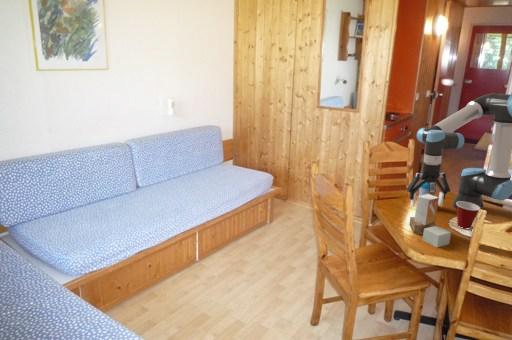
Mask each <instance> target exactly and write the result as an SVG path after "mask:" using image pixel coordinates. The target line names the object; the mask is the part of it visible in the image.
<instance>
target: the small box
mask: <svg viewBox="0 0 512 340" xmlns="http://www.w3.org/2000/svg"><path fill="white" fill-rule="evenodd" d="M438 201H439V196H436V195H434V196H433V195H430V194H425V195H421V196H419V195H418V196H417V200H416V206H415V214H414V217H415V220H414V221H415V222H418V223H420V224H423V225H428V224H431V223H435V222H436V218H437V213H438V208H439V207H438V206H439V205H438Z"/></svg>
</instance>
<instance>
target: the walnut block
mask: <svg viewBox="0 0 512 340" xmlns="http://www.w3.org/2000/svg"><path fill="white" fill-rule="evenodd" d="M414 220H415V216H410V217H409V225H408V226H409V227H410V229H411V231H412V233H413V234H416V235H423V233H424V229H425V228H429V227H433V226H437V224H436V223H435V222H434V223H431V224H428V225H423V224H420V223H418V222H415V221H414Z"/></svg>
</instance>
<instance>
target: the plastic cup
mask: <svg viewBox="0 0 512 340" xmlns="http://www.w3.org/2000/svg"><path fill="white" fill-rule="evenodd" d="M456 204H457V208H456V220H457V224H456V225H457V227H458V226H460V227H463V228H470V227H471V228H472V225H473V223H474V221H475V219H476V216H477V214H478V213H479V212H478V210H479V209H480V207H479V206H478V205H475V204H473V203H470V202H465V201H459V202H456ZM460 227H459V228H460ZM471 228H470V229H471Z"/></svg>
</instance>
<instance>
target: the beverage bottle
mask: <svg viewBox="0 0 512 340" xmlns="http://www.w3.org/2000/svg"><path fill="white" fill-rule="evenodd" d="M423 181H424V180H423ZM436 187H437V184H436V183H435V182H434V183H431V182H430V183H427V182H426V183H425V184H423V185H422V186H421V187H420V188H419V189H418V190H419V191H418V196H421V195H425V194H430V195H433V196H436V195H435V193H436Z"/></svg>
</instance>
